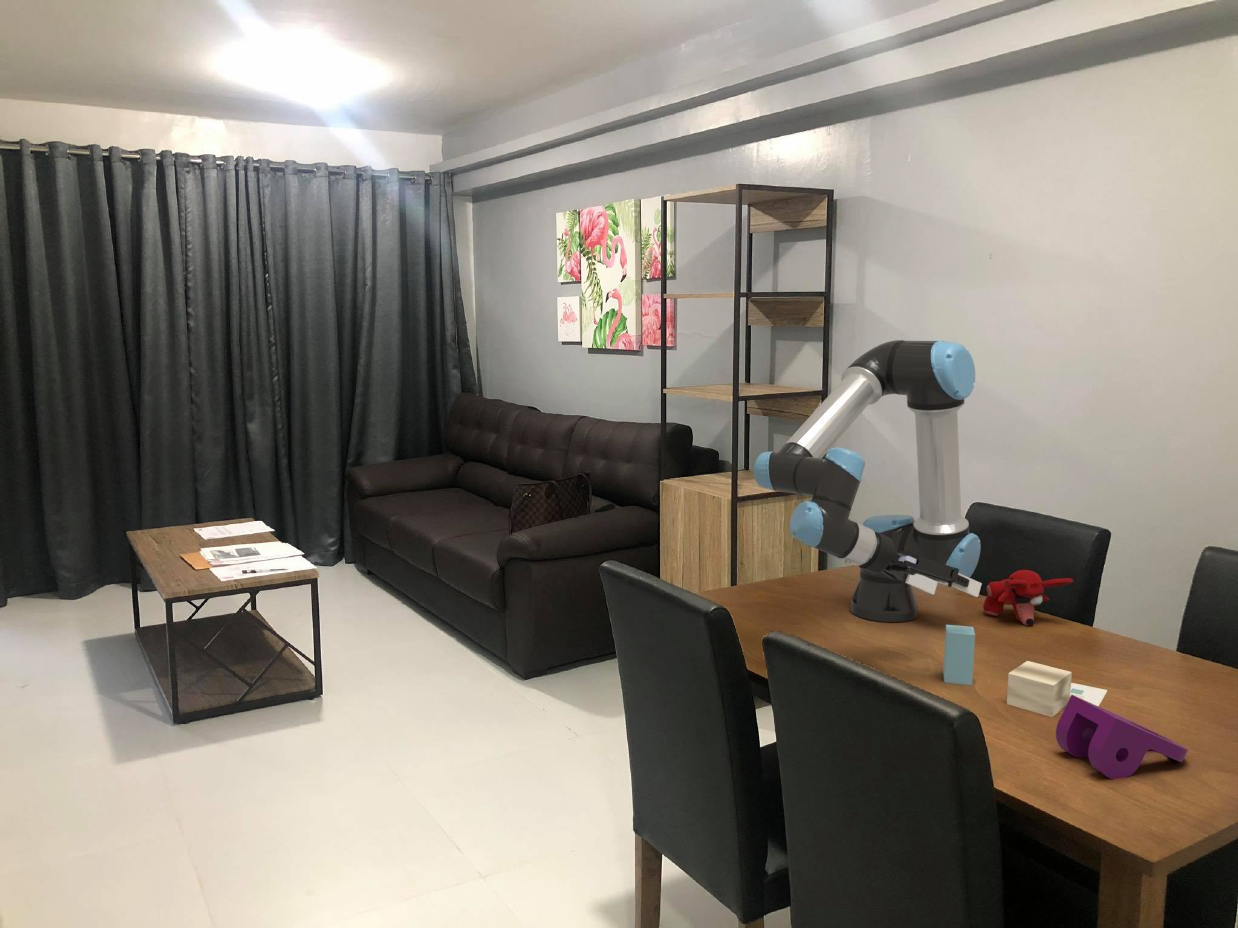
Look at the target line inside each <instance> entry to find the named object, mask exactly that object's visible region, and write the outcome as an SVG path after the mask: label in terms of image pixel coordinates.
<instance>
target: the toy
mask: <svg viewBox="0 0 1238 928" xmlns="http://www.w3.org/2000/svg"><path fill="white" fill-rule="evenodd" d="M1071 583H1074V580H1073V578H1071V577H1070V578H1069V577H1067V578H1066V577H1063V578H1053V579H1049V580H1042V578H1041V576H1040V575H1039V574H1038V573H1037V572H1035V571H1033V570H1028V569H1020V570H1017V571H1015V572H1013V573H1011V574H1010V576H1009V578H1006V579H1002V580H1000V581H996V580H995V581H990V582H989V583H988V585H986V592H987V596H986V597H985V599H984V602H983V605H982V607H983V608H982V609H983V610H984V612H985V614H986V615H989V616H993V617H998V616H1000V615H1002V613H1003V611H1004V607H1005V605H1007V606H1012V608H1013V613H1014V616H1015V618H1016V620H1017V621H1018V622H1020V623H1022V625H1024V626H1025V627H1026V626H1028V627H1029V626H1033V625H1035V606H1039V605H1041V604H1042V602H1045V601H1049V600H1050V598H1049V596H1046V594H1044V591H1045V588H1055V587H1059V586H1065V585H1069V584H1071Z"/></svg>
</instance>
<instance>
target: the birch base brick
mask: <svg viewBox="0 0 1238 928" xmlns="http://www.w3.org/2000/svg"><path fill="white" fill-rule="evenodd" d="M1072 675H1073V673H1072V671H1069V670H1065V669H1061V668H1057V667H1053V666H1050V665H1045V664H1042V663H1037V662H1034V661H1029V660H1026V661H1025V662H1023V663H1022V664H1021V665H1019V666H1017V667H1016V668H1014V669H1013V670H1011V671H1010V672H1008V677H1007V690H1006V692H1007V695H1006V705H1008V706H1013V707H1016V708H1018V709H1022V710H1026V711H1029V712H1032V713H1036V714H1040V715H1042V716H1046V717H1049V718H1053V717H1054V716H1056V715H1057V714H1058V713H1059V712H1060V711H1062V710H1064V709H1065V707H1066V705H1067V703H1068V701H1069V699H1070V692H1071V683H1072Z"/></svg>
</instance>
